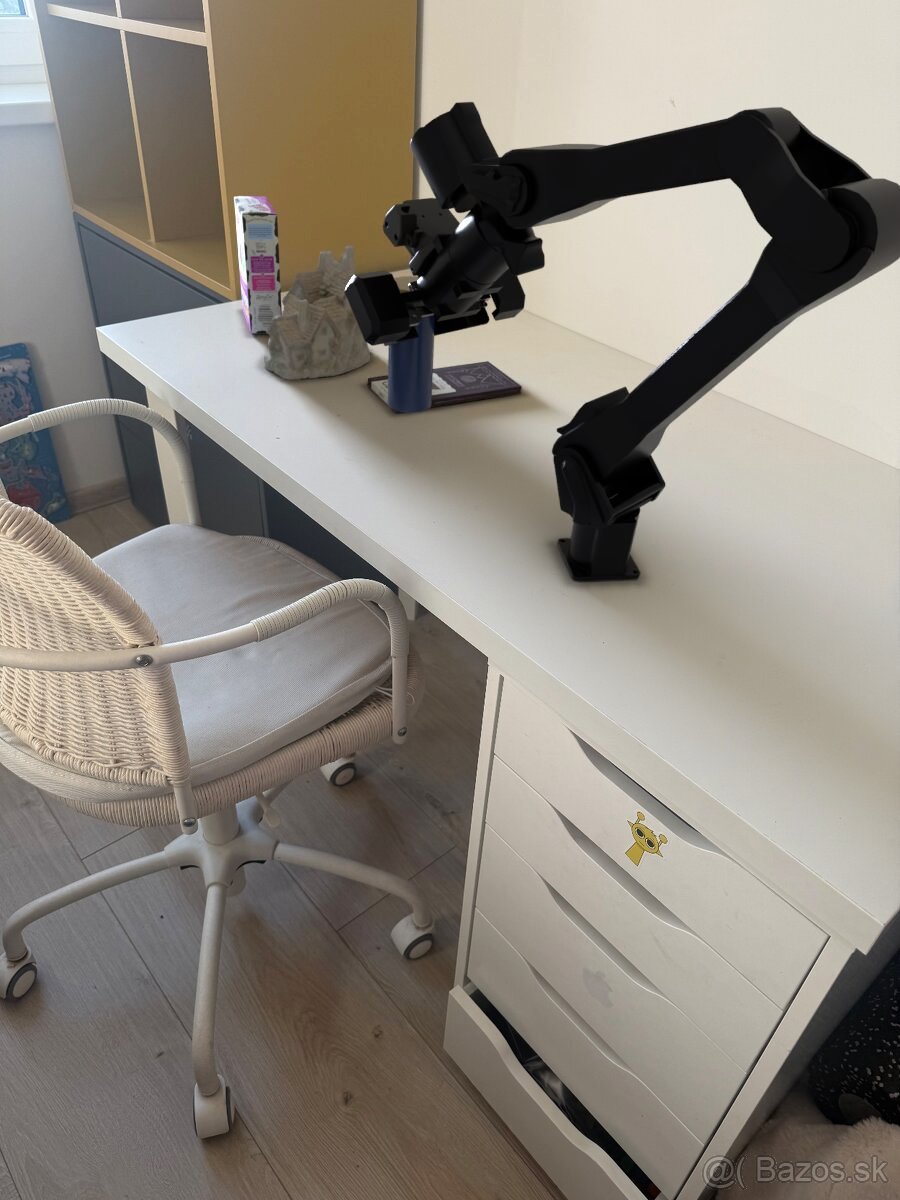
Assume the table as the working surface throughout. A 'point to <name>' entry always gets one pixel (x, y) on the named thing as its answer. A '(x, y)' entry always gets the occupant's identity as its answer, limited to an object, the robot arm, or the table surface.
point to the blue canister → (412, 364)
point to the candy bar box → (258, 261)
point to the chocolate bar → (459, 384)
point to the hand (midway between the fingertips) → (404, 337)
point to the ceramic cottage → (317, 324)
